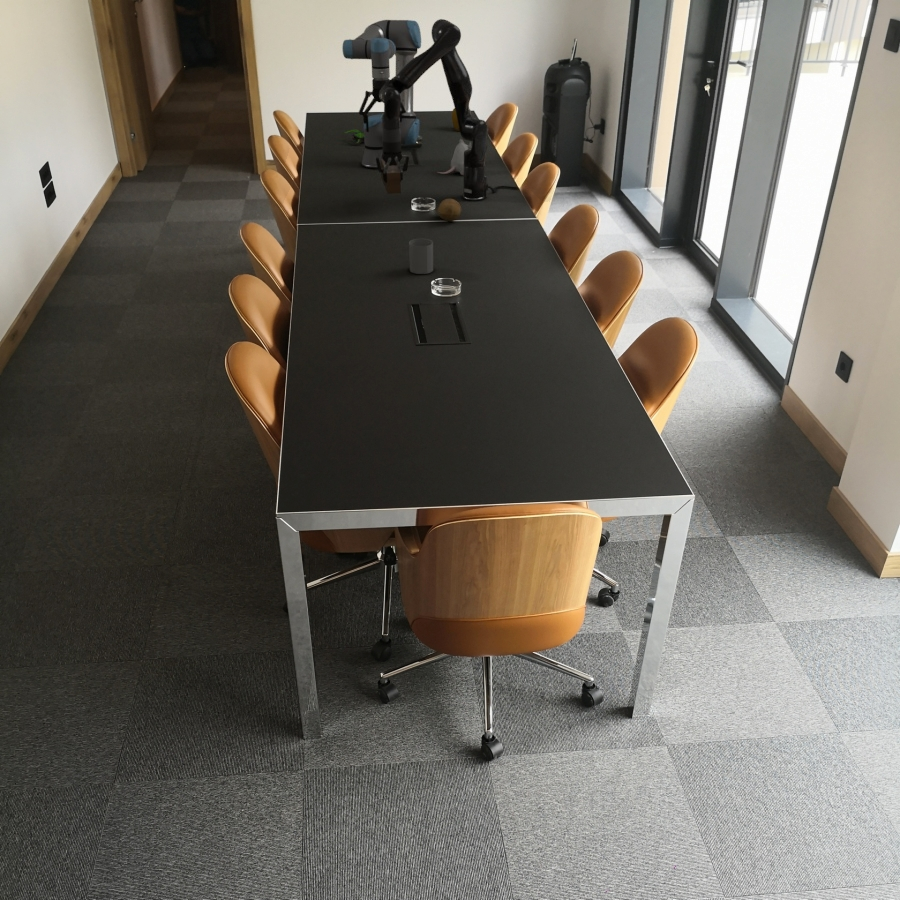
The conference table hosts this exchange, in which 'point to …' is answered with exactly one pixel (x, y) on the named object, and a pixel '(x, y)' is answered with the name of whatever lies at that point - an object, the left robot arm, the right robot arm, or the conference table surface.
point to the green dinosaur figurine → (356, 137)
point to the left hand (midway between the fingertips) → (383, 130)
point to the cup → (421, 256)
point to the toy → (458, 158)
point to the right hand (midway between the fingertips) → (393, 181)
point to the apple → (455, 120)
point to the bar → (392, 179)
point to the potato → (449, 209)
